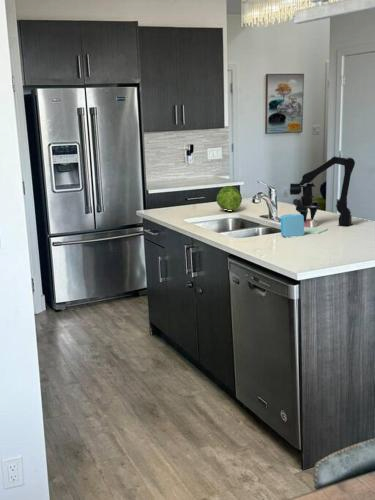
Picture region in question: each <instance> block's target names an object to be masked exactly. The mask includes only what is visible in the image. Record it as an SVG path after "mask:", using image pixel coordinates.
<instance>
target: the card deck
mask: <svg viewBox="0 0 375 500" xmlns="http://www.w3.org/2000/svg"><path fill="white" fill-rule="evenodd" d="M318 223H319V222H318V219H317V218H316V219H315V218H313V219H311V218H306V221H305V222H304V228H306V227H309V228H317V227H318V225H319V224H318Z"/></svg>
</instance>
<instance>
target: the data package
mask: <svg viewBox="0 0 375 500" xmlns="http://www.w3.org/2000/svg"><path fill="white" fill-rule="evenodd" d="M304 228H305V227H304V216H303V215H301V214H300V213H292V214H291V213H290V214H283V215H281V216H280V235H281V237H283V236H284V237H283V238H286V237H288V238H292V237H291V236H296V237H303V236H304V235H305V233H304Z"/></svg>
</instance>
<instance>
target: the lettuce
mask: <svg viewBox="0 0 375 500" xmlns="http://www.w3.org/2000/svg"><path fill="white" fill-rule="evenodd" d="M242 200H243V196H242V194H241V192H240V191H239V190H238V189H237V188H236V187H234V186H231V185H226V186H224V187H222V188H221V189H220V190H219V191H218V194H216V203H217V205H218V206H219V208H221V209H222V210H223V209H227V210H234V209H236V210H238V208H239V207H240V206H241V204H242V202H243V201H242ZM234 211H235V210H234Z"/></svg>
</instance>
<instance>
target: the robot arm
mask: <svg viewBox="0 0 375 500" xmlns="http://www.w3.org/2000/svg"><path fill="white" fill-rule="evenodd" d="M335 164H336V165H339V166H344V167H343V168H344V171H343V173H344V174H343V179H342V185H341V191H340V196H339V199H338V198H337V199H336V204H335V208H336V210H337V212H338V213H339V216H338V225H337V226H338V227H339V226H340V227H350V226H353V223H352V222H353V221H352V220H353V219H352V212H351V209H350V208H348V193H349V187H350V183H351V182H350V181H351V175H352V173H353V170H354V167H355V165H356V161H355V159H354V158H353V157H349V156H348V157H341V156H340V157H339V156H336V155H335V156H332V157H331V158H329V159H328V160H326V161H325V162H324V163H322V164H320V165H319V166H317V167H316V168H314V169H312V170H309V171H307V172H305V173H304V174H303V175H302V178H301V179H302V180H301V181H299V182H298V183H297V182H296V183H291V182H290V185H289V196H294V195H295V196H296V195H297V196H298V195H299V196H300V194H302V196H301V197H300V198H299V199H298V198H295V199H293V203H292V204H293V206H295V211H297V213H298V214H301V215H303V216H304V222H305V221H306V219H308V218H307V217H308V213H309V214H310V219H315V218H314V217H315V215H316V213H317V211H318V209H319V208H320V206H321V203H320V202H319V201H318V200H317V201H316V200H314V199H313V198H315V196H314V194H313V192H314V191H313V190H314V189H313V187H314V188H315V187H316V186H317V185H316V184H315V183H314V182H312V181H313V180H314V179H316V177H318V175H320V174H322V173H323V172H324V171H326V170H328V169H329V168H331V167H332V166H335ZM313 200H314V201H313ZM308 209H309V210H308Z"/></svg>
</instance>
